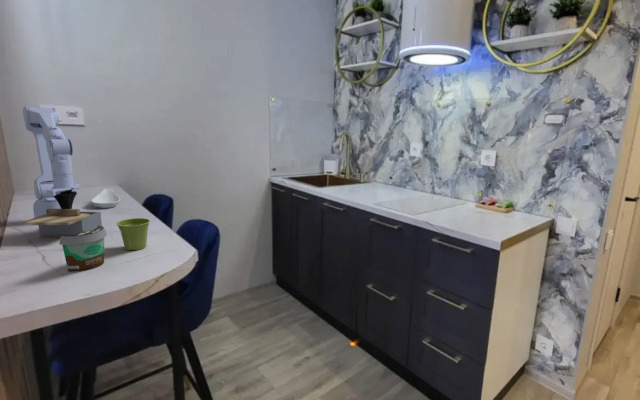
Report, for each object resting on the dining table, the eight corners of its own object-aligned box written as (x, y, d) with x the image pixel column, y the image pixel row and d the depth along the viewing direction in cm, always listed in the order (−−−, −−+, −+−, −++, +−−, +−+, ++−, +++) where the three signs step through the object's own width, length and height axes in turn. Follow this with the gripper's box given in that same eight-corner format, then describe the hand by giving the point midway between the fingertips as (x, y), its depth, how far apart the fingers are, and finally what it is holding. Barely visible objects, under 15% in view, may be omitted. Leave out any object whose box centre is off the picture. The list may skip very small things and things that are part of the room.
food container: (82, 276, 87) (78, 239, 85) (62, 273, 88) (58, 236, 86) (119, 259, 98) (116, 226, 97) (101, 256, 100) (98, 224, 98)
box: (40, 236, 115) (37, 219, 114) (62, 226, 127) (61, 211, 126) (83, 236, 117) (81, 219, 116) (101, 226, 128) (100, 211, 127)
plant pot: (129, 255, 102) (127, 227, 100) (112, 248, 107) (110, 222, 105) (157, 246, 110) (156, 221, 108) (141, 241, 115) (139, 216, 113)
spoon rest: (120, 209, 158) (119, 194, 156) (90, 211, 152) (88, 195, 151) (122, 199, 178) (121, 186, 177) (95, 200, 172) (94, 187, 171)
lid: (22, 224, 108) (21, 215, 107) (48, 215, 119) (47, 207, 119) (68, 225, 109) (68, 216, 108) (90, 215, 121) (89, 207, 120)
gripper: (61, 177, 109) (65, 217, 112) (87, 171, 123) (90, 207, 126) (37, 176, 108) (43, 217, 111) (66, 171, 123) (70, 207, 125)
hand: (66, 212), depth 119 cm, fingers closed
